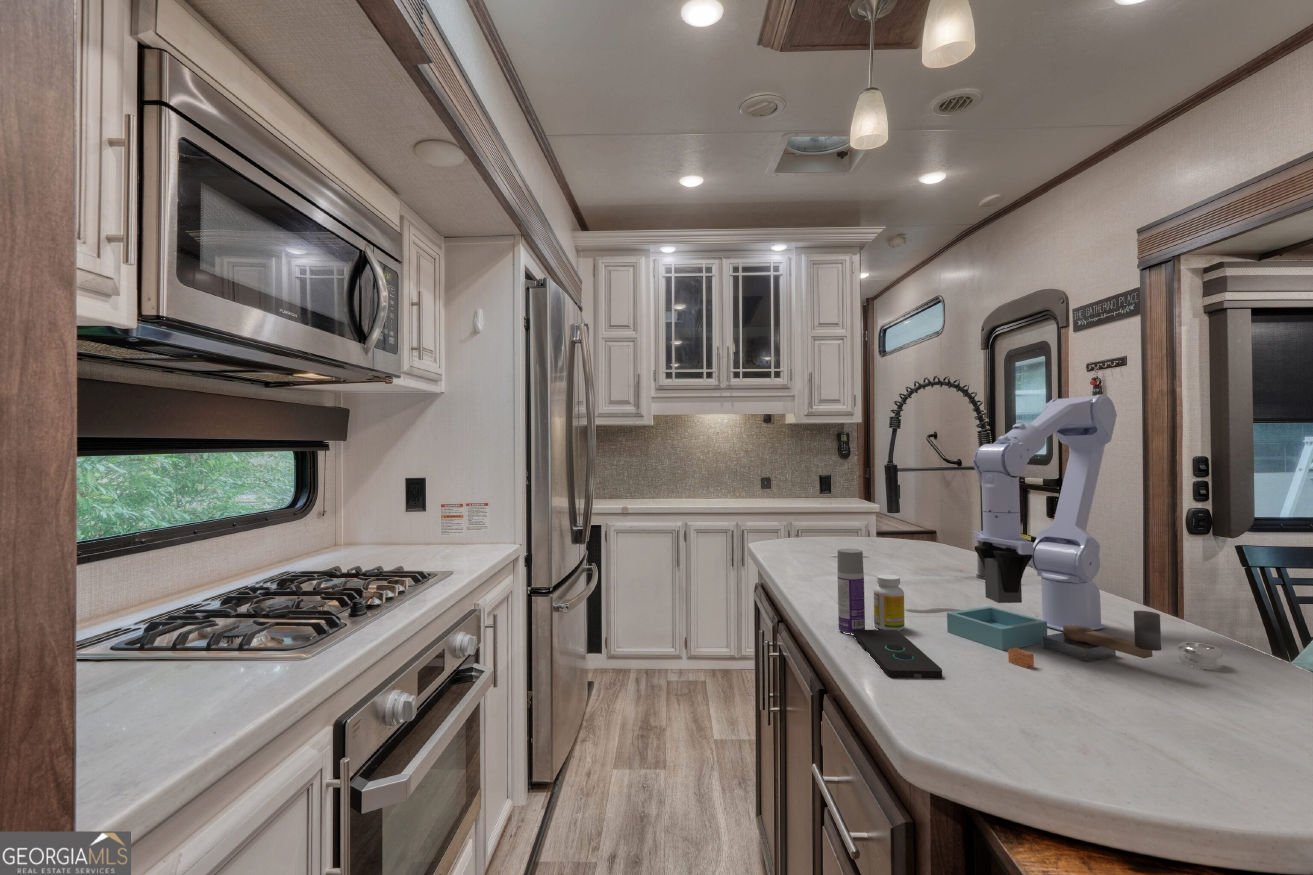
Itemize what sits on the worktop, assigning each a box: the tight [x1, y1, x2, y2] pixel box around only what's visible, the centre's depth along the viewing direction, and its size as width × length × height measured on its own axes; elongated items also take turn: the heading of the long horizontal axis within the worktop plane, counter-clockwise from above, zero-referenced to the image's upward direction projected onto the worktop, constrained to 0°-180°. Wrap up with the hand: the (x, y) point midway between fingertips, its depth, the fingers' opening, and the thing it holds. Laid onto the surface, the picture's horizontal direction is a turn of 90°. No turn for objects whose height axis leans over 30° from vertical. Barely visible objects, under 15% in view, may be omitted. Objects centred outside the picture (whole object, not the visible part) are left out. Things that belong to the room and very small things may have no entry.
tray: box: [946, 605, 1048, 651], centre depth 104 cm, size 11×11×4 cm
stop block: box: [984, 558, 1023, 604], centre depth 103 cm, size 4×4×7 cm
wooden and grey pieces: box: [1007, 632, 1117, 669], centre depth 94 cm, size 18×7×2 cm, turn 112°
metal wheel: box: [1177, 641, 1224, 671], centre depth 90 cm, size 5×3×5 cm
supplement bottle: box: [873, 574, 905, 632], centre depth 111 cm, size 5×5×10 cm
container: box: [837, 548, 866, 634], centre depth 109 cm, size 5×5×15 cm
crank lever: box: [1062, 610, 1162, 659], centre depth 91 cm, size 14×4×6 cm, turn 22°
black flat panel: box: [853, 629, 943, 680], centre depth 96 cm, size 8×2×20 cm
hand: (1003, 588), depth 103 cm, fingers closed on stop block, 4 cm apart
